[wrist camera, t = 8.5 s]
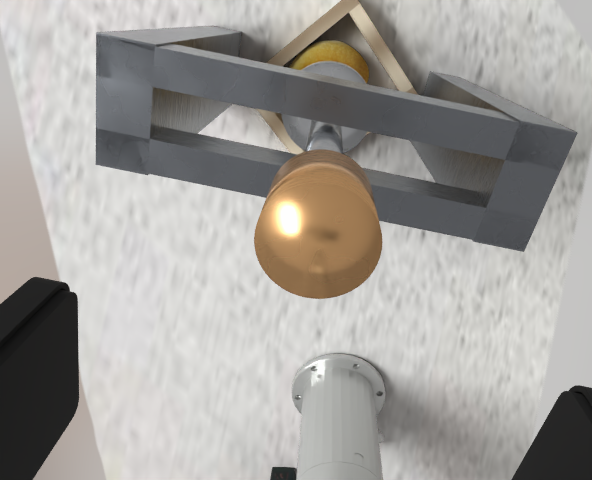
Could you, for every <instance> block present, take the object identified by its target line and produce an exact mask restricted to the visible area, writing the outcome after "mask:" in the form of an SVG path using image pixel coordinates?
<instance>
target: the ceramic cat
mask: <svg viewBox="0 0 592 480" xmlns="http://www.w3.org/2000/svg"><path fill="white" fill-rule="evenodd" d="M270 480H296V474H295V469H294V468H287V467H273V468H272V473H271V479H270Z"/></svg>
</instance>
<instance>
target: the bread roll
mask: <svg viewBox="0 0 592 480" xmlns="http://www.w3.org/2000/svg"><path fill="white" fill-rule="evenodd" d="M320 61H336V62H340V63H343V64H346V65H348V66H350V67H351V68H353V69H354V70H355V71H357V72H358V73H359V74H360V75H361V76H362V78H363V79H364V81H365V82H366V84H367V82H368V78H369V70H368V66H367V64H366V62H365V61H364V59H363V58H362V57H361V55H360V54H359V53H358V52H357V51H356V50H355V49H353V48H352V47H350V46H349V45H347V44H345V43H343V42H341V41H337V40H323V41H320V42H317V43H314V44H312V45H310V46H308V47H306V48H305V49H303V50H302V51H301V52H300V53H299V54H298V55H297V56H296V58H295V59H294V60H293V61H292V63H291V65H290V67H289V68H292V69H296V70H302V69H303V68H305V67H307V66H308V65H311V64H313V63H316V62H320Z"/></svg>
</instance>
